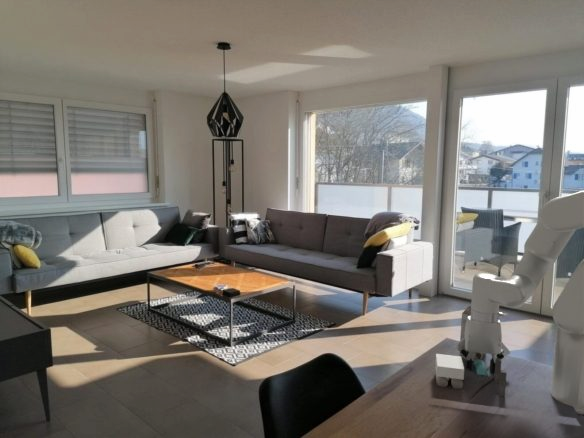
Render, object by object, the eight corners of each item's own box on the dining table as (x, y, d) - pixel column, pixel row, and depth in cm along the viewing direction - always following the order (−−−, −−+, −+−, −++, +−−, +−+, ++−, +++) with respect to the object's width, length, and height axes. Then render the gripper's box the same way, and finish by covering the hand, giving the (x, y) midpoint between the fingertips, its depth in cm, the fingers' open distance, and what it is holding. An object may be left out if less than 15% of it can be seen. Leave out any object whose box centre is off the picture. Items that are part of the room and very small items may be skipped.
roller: (473, 367, 134) (474, 358, 134) (483, 369, 134) (484, 360, 133) (476, 378, 128) (477, 369, 127) (487, 380, 127) (488, 371, 126)
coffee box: (479, 366, 135) (482, 317, 133) (458, 360, 139) (461, 312, 136) (486, 355, 142) (489, 309, 140) (466, 350, 146) (469, 304, 144)
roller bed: (498, 384, 124) (500, 358, 123) (504, 401, 116) (506, 373, 115) (432, 375, 129) (434, 350, 128) (434, 391, 120) (435, 364, 119)
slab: (460, 366, 126) (461, 356, 126) (463, 379, 118) (464, 369, 118) (435, 363, 128) (435, 353, 127) (436, 376, 120) (437, 366, 120)
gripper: (513, 313, 129) (508, 370, 132) (452, 308, 134) (449, 363, 136) (519, 322, 122) (514, 382, 125) (454, 316, 127) (451, 374, 129)
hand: (480, 371), depth 131 cm, fingers open, 5 cm apart
